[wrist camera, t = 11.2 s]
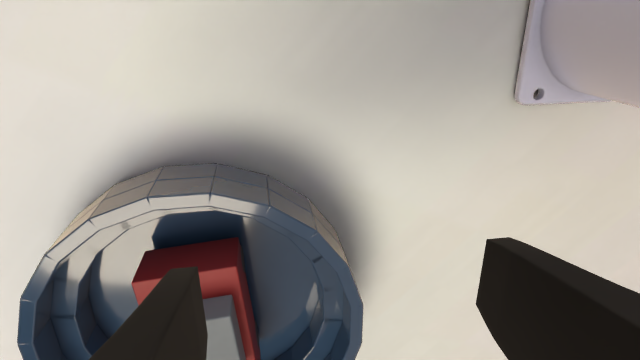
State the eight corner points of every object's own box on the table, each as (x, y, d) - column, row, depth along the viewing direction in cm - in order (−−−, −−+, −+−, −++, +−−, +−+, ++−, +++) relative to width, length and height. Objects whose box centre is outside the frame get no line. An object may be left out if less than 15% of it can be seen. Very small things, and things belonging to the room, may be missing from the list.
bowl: (347, 150, 19) (368, 181, 16) (344, 373, 25) (358, 431, 22) (21, 169, 18) (-36, 209, 14) (95, 405, 23) (67, 476, 20)
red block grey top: (238, 230, 20) (235, 287, 16) (260, 341, 22) (262, 415, 18) (147, 243, 19) (120, 306, 15) (181, 355, 22) (165, 434, 18)
